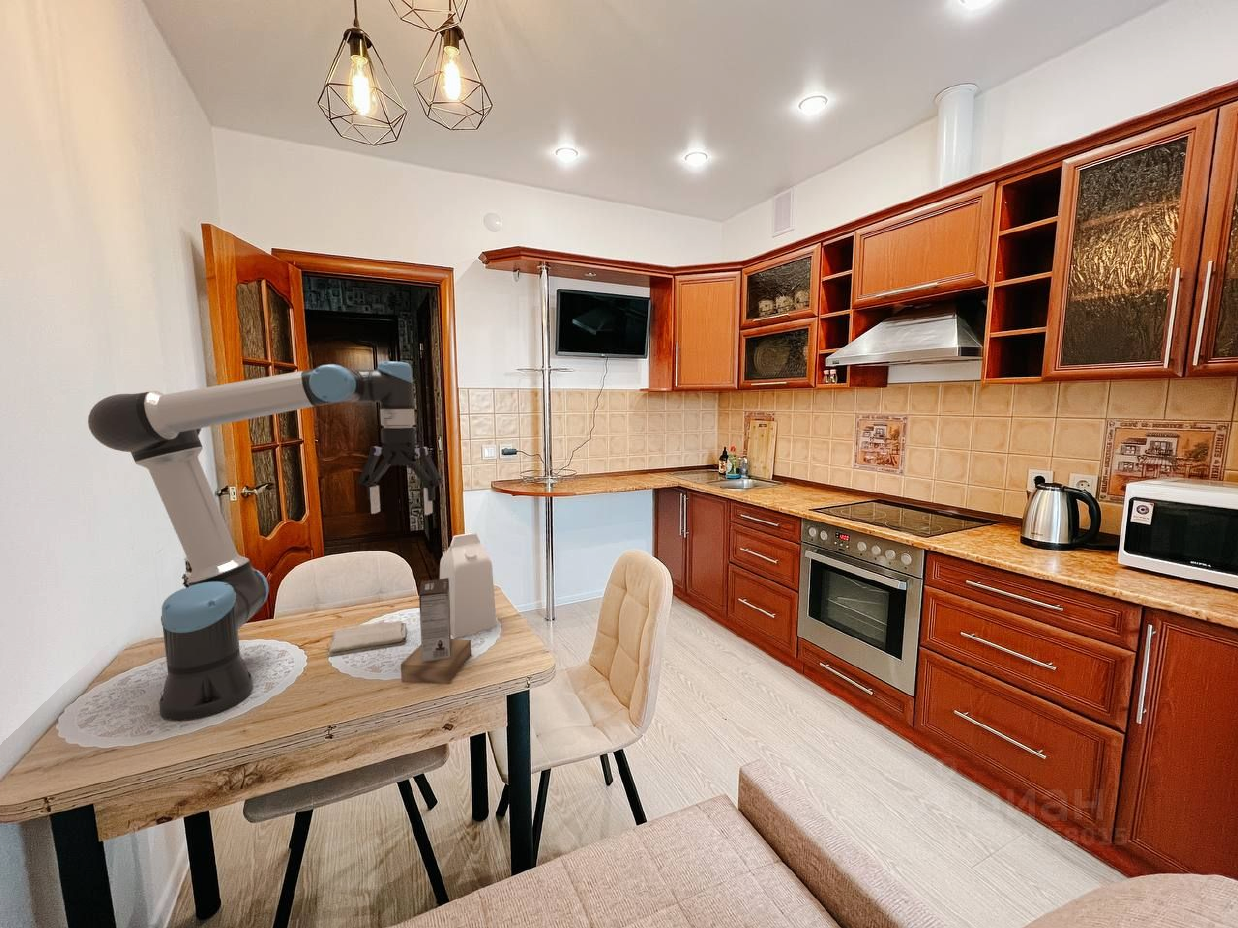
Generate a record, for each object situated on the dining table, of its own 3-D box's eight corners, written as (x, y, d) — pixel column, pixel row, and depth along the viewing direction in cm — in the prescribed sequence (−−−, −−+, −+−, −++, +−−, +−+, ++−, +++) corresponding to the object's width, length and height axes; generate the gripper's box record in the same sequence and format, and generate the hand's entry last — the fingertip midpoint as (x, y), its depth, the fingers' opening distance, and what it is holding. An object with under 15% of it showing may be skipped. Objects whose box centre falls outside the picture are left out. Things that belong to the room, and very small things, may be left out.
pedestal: (401, 681, 113) (400, 664, 113) (428, 653, 126) (427, 637, 126) (449, 683, 112) (448, 666, 112) (471, 655, 125) (470, 639, 125)
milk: (479, 613, 150) (476, 527, 147) (496, 626, 142) (494, 535, 138) (438, 624, 143) (435, 533, 140) (454, 638, 134) (451, 542, 131)
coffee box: (423, 644, 122) (420, 580, 120) (451, 640, 124) (448, 577, 122) (421, 663, 113) (418, 593, 111) (451, 658, 115) (449, 590, 114)
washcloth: (407, 646, 131) (406, 634, 130) (327, 659, 124) (326, 647, 123) (406, 627, 142) (406, 616, 141) (333, 639, 134) (332, 627, 134)
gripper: (339, 427, 120) (344, 515, 122) (441, 428, 118) (444, 517, 120) (358, 425, 127) (363, 508, 130) (454, 426, 125) (457, 511, 128)
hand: (402, 513), depth 125 cm, fingers open, 13 cm apart
